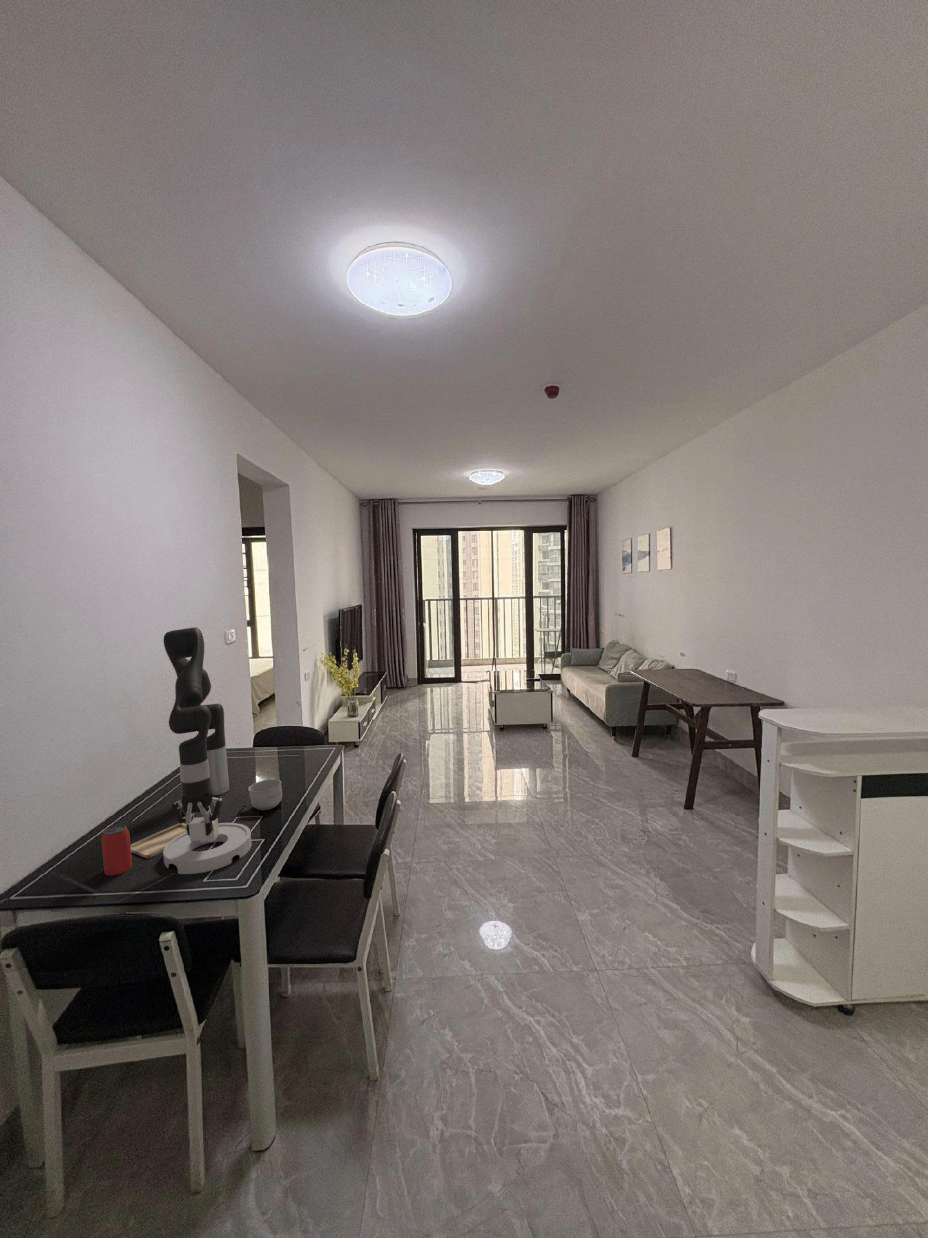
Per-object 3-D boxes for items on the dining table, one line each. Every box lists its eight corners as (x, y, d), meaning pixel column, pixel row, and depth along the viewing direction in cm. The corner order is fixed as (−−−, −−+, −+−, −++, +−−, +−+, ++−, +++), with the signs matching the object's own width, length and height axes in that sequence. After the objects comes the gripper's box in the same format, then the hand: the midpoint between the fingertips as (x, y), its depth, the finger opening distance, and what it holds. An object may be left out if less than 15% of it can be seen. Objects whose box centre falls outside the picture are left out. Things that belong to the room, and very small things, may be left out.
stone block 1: (190, 841, 154) (188, 824, 154) (195, 834, 158) (194, 817, 158) (205, 840, 155) (203, 823, 154) (210, 833, 159) (208, 816, 158)
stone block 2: (200, 842, 159) (198, 825, 159) (204, 836, 163) (203, 819, 163) (214, 841, 159) (213, 824, 159) (218, 834, 163) (217, 818, 163)
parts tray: (124, 851, 163) (124, 847, 163) (182, 826, 178) (181, 822, 178) (148, 860, 157) (147, 856, 157) (205, 833, 172) (204, 829, 172)
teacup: (272, 814, 185) (270, 791, 184) (243, 812, 187) (241, 790, 186) (293, 797, 198) (291, 775, 198) (266, 796, 200) (264, 775, 200)
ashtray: (155, 883, 146) (153, 868, 145) (173, 843, 168) (172, 830, 167) (248, 865, 152) (247, 852, 152) (254, 829, 174) (253, 817, 174)
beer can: (113, 865, 155) (108, 824, 154) (137, 863, 155) (133, 822, 154) (99, 878, 148) (95, 835, 147) (125, 876, 149) (120, 833, 148)
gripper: (163, 783, 151) (168, 843, 152) (216, 779, 152) (221, 839, 154) (175, 773, 158) (180, 831, 160) (225, 770, 160) (230, 827, 161)
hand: (200, 835), depth 157 cm, fingers closed on stone block 1, 4 cm apart
